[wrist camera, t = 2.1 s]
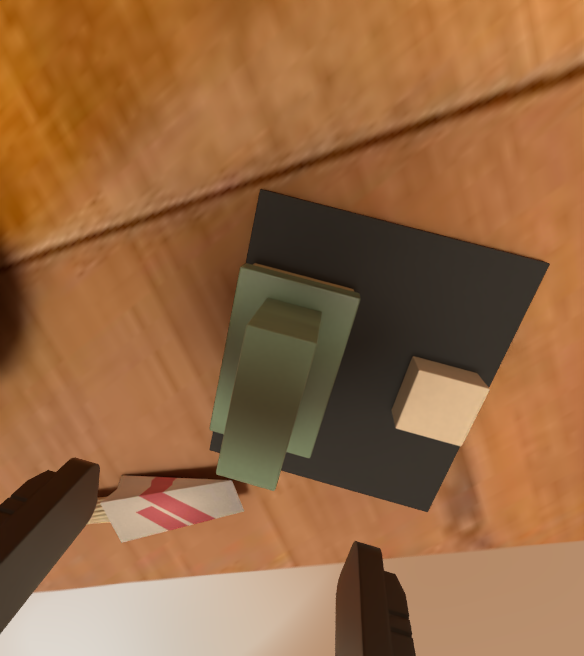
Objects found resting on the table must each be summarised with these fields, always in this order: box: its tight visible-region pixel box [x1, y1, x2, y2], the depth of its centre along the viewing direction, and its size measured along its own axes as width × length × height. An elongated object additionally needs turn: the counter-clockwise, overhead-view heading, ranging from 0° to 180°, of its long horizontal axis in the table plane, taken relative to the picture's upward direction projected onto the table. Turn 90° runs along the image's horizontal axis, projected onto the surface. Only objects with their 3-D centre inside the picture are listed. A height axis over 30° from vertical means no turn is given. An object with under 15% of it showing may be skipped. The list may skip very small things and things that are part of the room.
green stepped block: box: [210, 263, 360, 491], centre depth 20 cm, size 10×6×7 cm, turn 167°
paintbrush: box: [87, 475, 244, 543], centre depth 28 cm, size 4×3×20 cm
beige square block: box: [391, 356, 490, 446], centre depth 22 cm, size 4×4×2 cm
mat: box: [210, 189, 550, 512], centre depth 23 cm, size 18×16×1 cm
